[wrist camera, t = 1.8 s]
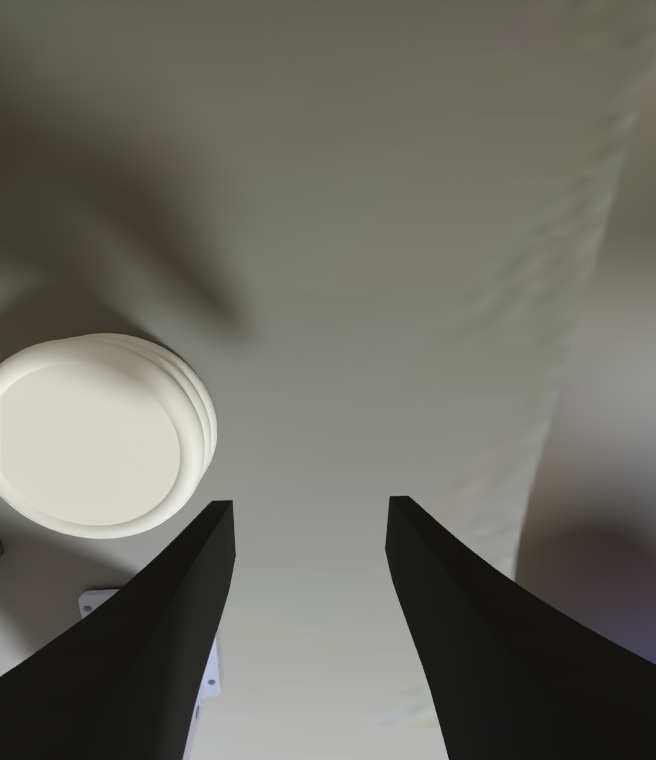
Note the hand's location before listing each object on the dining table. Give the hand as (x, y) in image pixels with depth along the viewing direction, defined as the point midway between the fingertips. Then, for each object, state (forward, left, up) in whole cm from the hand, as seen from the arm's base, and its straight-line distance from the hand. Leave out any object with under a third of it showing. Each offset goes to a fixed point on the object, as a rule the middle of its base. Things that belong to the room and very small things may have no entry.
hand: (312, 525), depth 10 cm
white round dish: (0, +10, -9) cm, 13 cm away
